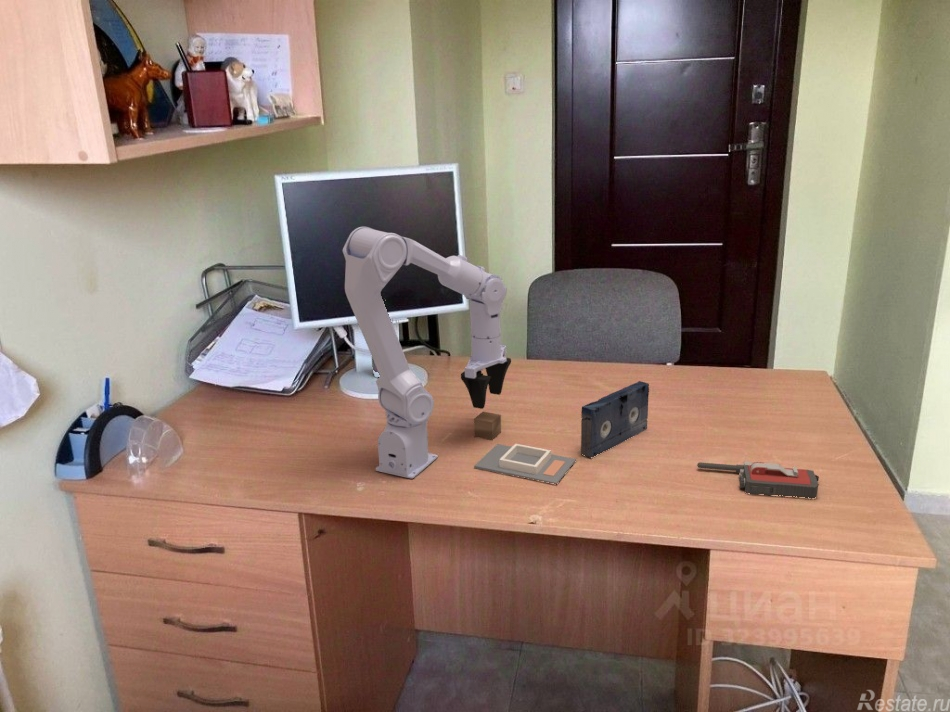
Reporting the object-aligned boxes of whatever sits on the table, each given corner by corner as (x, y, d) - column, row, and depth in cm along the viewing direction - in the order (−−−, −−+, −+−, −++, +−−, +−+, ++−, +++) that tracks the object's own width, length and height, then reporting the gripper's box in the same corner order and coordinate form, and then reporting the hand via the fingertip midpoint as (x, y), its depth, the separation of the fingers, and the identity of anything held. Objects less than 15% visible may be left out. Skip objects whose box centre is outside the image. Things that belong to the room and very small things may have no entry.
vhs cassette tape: (637, 426, 158) (639, 380, 155) (649, 430, 156) (652, 383, 153) (578, 454, 146) (579, 405, 143) (590, 460, 144) (591, 410, 141)
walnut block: (492, 440, 153) (492, 422, 152) (474, 437, 155) (473, 418, 153) (501, 432, 156) (500, 414, 155) (483, 429, 158) (482, 411, 157)
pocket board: (556, 485, 135) (556, 475, 135) (474, 468, 142) (474, 458, 141) (576, 461, 144) (576, 451, 143) (497, 446, 150) (497, 436, 150)
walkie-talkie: (815, 478, 136) (696, 468, 141) (818, 455, 135) (698, 446, 139) (824, 503, 128) (698, 492, 133) (828, 479, 127) (700, 469, 131)
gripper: (488, 348, 141) (489, 417, 145) (520, 326, 153) (520, 390, 158) (453, 343, 144) (456, 411, 148) (487, 322, 156) (489, 385, 161)
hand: (487, 400), depth 153 cm, fingers open, 7 cm apart
